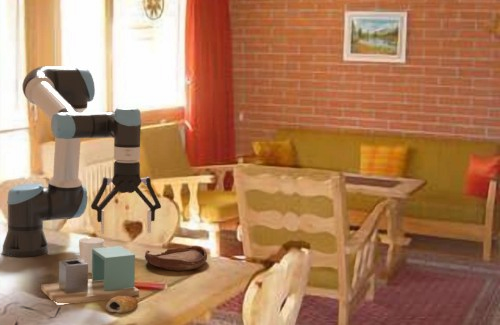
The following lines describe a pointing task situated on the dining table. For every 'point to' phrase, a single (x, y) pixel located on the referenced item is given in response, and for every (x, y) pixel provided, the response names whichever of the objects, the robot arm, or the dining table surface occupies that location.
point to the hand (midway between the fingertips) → (125, 232)
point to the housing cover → (113, 267)
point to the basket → (179, 258)
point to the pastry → (122, 304)
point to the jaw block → (73, 276)
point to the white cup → (89, 249)
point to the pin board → (86, 293)
